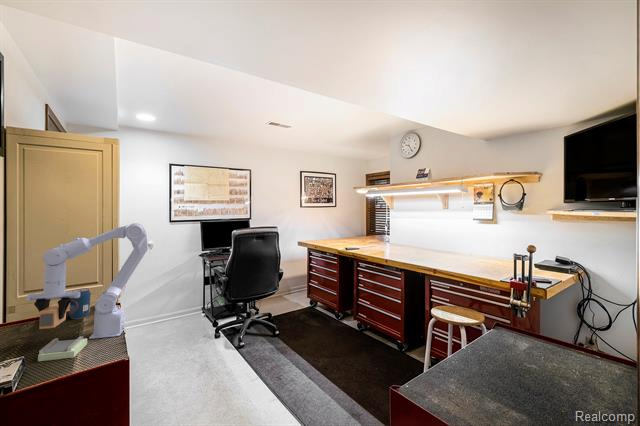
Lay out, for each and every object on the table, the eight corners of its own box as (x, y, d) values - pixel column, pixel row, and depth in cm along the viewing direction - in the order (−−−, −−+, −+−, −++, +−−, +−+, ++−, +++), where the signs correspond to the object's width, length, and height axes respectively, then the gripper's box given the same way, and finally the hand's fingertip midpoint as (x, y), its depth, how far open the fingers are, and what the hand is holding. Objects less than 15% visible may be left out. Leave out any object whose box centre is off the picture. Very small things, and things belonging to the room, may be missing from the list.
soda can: (65, 318, 123) (66, 291, 123) (82, 313, 129) (83, 287, 130) (76, 320, 121) (77, 292, 121) (93, 315, 127) (94, 288, 128)
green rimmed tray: (87, 343, 100) (87, 334, 100) (73, 357, 91) (74, 347, 91) (55, 347, 97) (55, 337, 97) (37, 361, 87) (38, 351, 88)
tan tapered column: (65, 319, 105) (66, 303, 105) (53, 328, 97) (53, 311, 97) (52, 320, 104) (52, 304, 104) (38, 329, 96) (39, 312, 96)
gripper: (84, 277, 107) (83, 313, 107) (35, 279, 102) (34, 317, 102) (75, 282, 100) (74, 320, 100) (23, 284, 95) (21, 324, 95)
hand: (53, 319), depth 101 cm, fingers closed on tan tapered column, 4 cm apart
